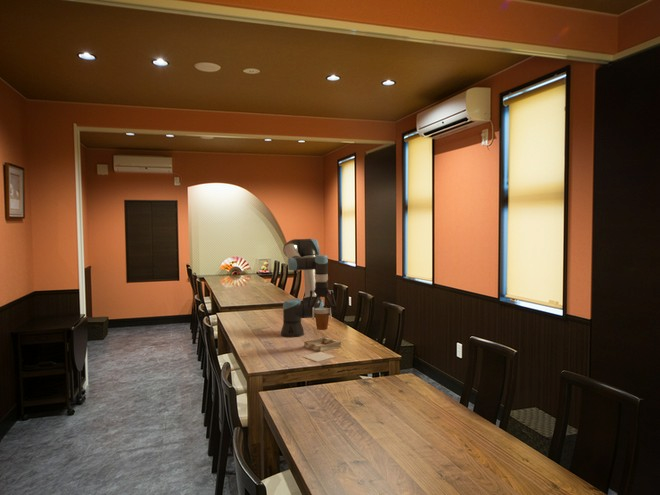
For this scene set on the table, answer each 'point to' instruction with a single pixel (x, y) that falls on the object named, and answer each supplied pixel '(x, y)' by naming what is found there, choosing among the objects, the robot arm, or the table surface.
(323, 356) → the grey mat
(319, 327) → the disposable coffee cup
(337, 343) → the square wooden tray
